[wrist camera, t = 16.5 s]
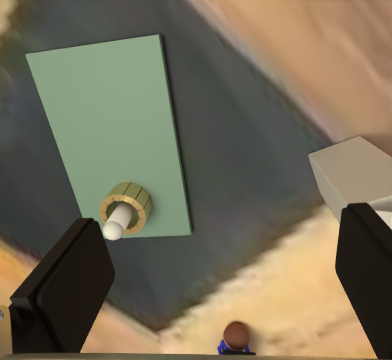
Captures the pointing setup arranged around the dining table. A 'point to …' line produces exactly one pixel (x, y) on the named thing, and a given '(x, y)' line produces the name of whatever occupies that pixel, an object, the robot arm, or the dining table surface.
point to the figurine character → (235, 341)
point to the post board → (116, 129)
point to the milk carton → (354, 176)
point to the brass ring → (131, 195)
